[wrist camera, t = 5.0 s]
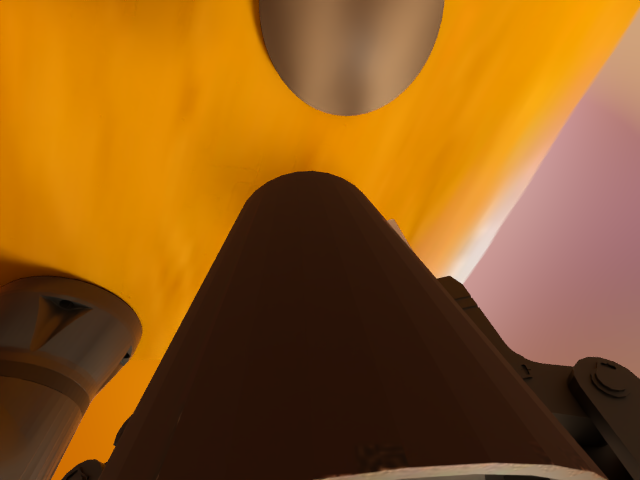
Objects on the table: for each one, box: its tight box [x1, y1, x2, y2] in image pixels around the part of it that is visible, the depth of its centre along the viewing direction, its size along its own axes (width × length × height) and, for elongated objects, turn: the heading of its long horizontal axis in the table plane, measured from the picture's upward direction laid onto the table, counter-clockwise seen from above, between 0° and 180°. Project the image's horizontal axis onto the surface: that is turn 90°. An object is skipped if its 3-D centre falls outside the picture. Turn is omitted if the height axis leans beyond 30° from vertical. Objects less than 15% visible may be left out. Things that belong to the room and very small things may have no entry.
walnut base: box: [259, 0, 444, 116], centre depth 20 cm, size 13×13×1 cm
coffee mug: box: [98, 171, 609, 480], centre depth 10 cm, size 12×9×10 cm
